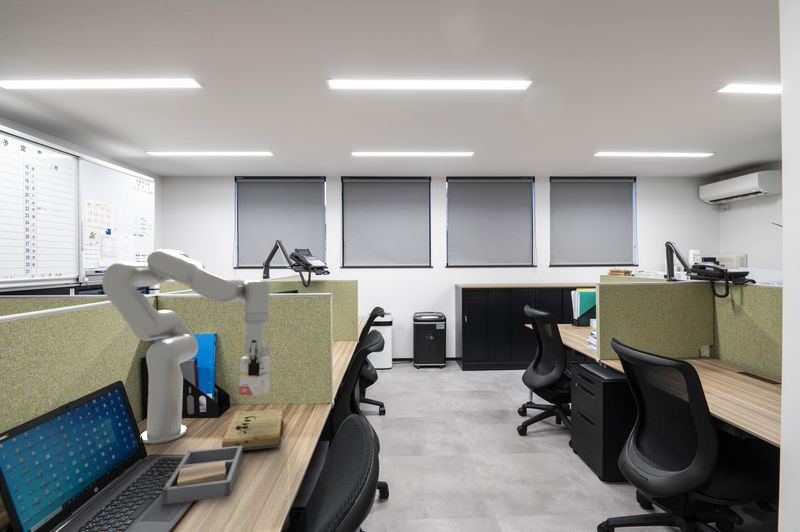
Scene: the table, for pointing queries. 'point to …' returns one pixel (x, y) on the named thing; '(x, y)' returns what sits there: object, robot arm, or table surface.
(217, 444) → the table surface
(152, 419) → the robot arm
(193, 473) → the offcut top
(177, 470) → the rack
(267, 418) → the book
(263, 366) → the ink cartridge box
